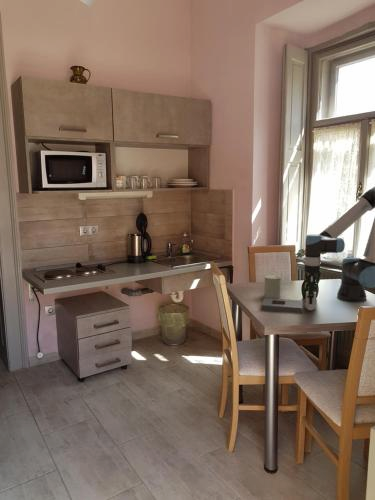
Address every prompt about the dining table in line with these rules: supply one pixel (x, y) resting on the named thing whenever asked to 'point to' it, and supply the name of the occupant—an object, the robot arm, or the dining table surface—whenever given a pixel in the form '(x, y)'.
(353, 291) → the robot arm
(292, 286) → the dining table surface
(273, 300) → the socket
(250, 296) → the dining table surface
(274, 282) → the can
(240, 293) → the dining table surface
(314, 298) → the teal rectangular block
